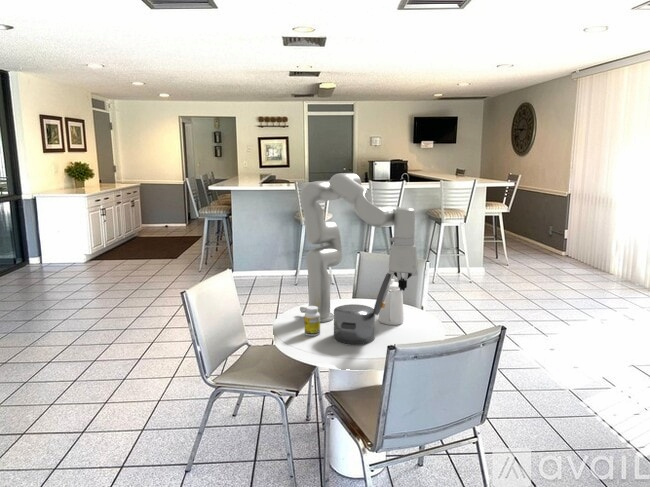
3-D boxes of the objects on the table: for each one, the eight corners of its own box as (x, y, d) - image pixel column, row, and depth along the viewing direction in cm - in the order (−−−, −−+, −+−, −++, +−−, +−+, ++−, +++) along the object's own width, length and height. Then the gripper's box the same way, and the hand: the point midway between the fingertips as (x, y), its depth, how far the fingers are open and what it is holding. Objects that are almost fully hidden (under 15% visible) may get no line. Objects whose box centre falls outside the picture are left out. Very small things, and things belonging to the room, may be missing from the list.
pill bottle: (304, 331, 193) (304, 305, 191) (319, 330, 194) (319, 304, 192) (304, 336, 187) (304, 310, 185) (320, 336, 188) (320, 309, 186)
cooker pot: (326, 345, 179) (326, 317, 177) (341, 326, 199) (341, 301, 197) (368, 349, 174) (369, 321, 172) (379, 330, 194) (379, 304, 192)
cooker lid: (383, 278, 170) (391, 281, 170) (390, 268, 186) (397, 270, 185) (370, 319, 174) (377, 322, 174) (378, 306, 190) (385, 308, 189)
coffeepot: (375, 331, 193) (376, 286, 190) (380, 312, 217) (381, 272, 214) (402, 333, 191) (403, 288, 188) (404, 313, 215) (405, 273, 212)
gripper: (382, 242, 173) (380, 290, 176) (423, 244, 169) (421, 294, 172) (385, 238, 180) (384, 285, 183) (425, 240, 176) (423, 288, 179)
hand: (402, 289), depth 178 cm, fingers closed
